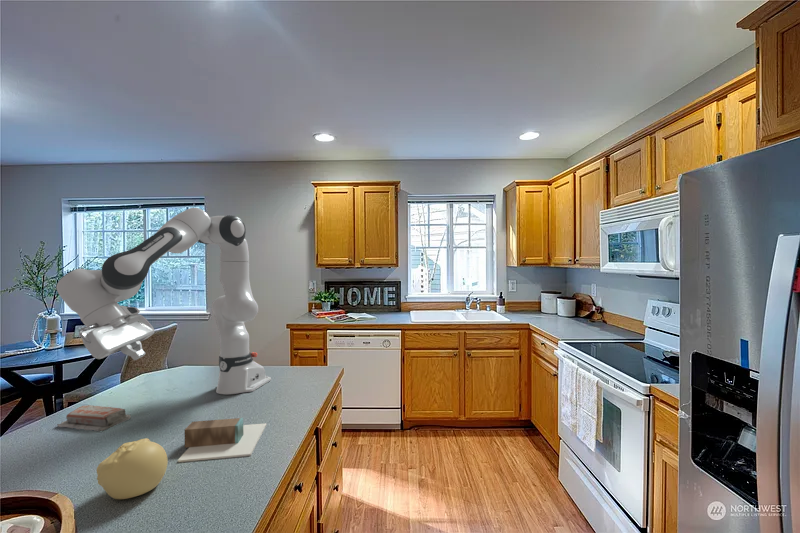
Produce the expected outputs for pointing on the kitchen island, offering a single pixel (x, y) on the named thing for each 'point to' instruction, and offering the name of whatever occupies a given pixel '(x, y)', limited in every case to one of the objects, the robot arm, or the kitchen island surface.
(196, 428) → the walnut block
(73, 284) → the robot arm
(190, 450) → the cream mat
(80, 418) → the packaged product
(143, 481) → the sculpture
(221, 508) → the kitchen island surface
